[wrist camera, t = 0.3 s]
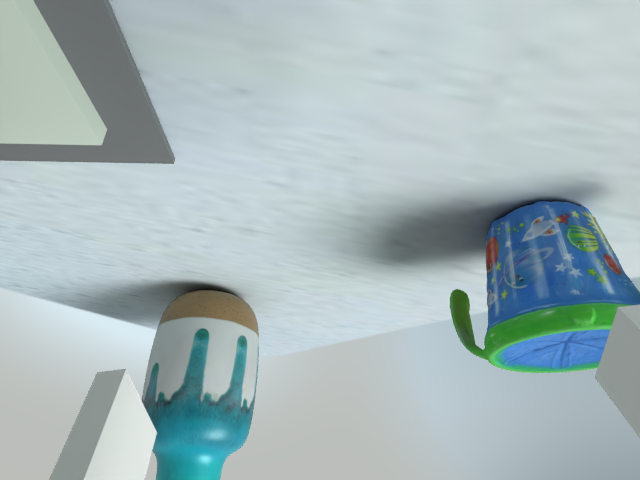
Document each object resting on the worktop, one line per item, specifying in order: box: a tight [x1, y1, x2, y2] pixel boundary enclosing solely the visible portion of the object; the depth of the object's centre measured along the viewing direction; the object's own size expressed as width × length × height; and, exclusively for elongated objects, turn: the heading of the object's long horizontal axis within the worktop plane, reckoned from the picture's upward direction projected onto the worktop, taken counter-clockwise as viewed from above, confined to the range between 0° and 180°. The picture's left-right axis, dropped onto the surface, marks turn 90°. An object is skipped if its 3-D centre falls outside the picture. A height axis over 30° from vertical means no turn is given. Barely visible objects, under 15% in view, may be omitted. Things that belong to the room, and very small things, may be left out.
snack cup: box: [450, 201, 640, 373], centre depth 32 cm, size 16×10×10 cm
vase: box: [142, 290, 259, 480], centre depth 44 cm, size 11×11×19 cm
